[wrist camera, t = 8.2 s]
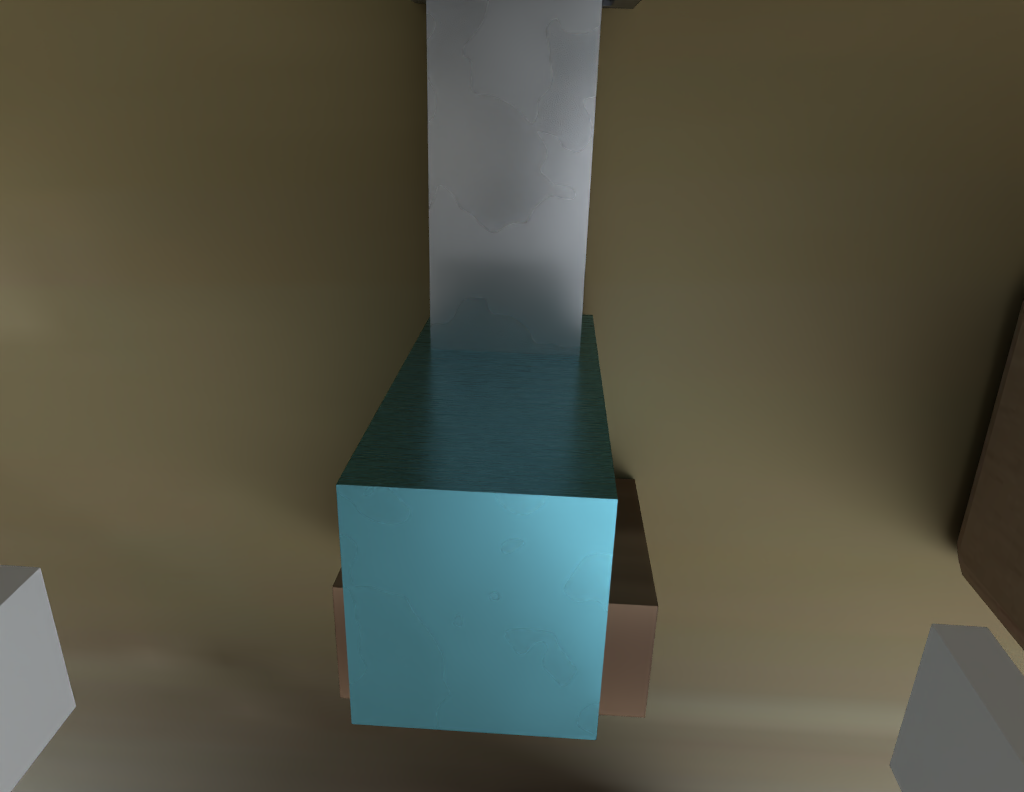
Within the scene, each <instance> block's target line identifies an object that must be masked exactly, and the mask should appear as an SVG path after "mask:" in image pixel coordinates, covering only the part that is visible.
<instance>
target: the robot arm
mask: <svg viewBox="0 0 1024 792" xmlns="http://www.w3.org/2000/svg"><path fill="white" fill-rule="evenodd" d="M75 707H76V704H75V700H74V696H73V693H72V689H71V685H70V681H69V677H68V673H67V669H66V665H65V662H64V658H63V654H62V650H61V646H60V642H59V638H58V634H57V631H56V627H55V623H54V619H53V615H52V611H51V607H50V603H49V600H48V596H47V592H46V588H45V584H44V580H43V576H42V572H41V569H40V567H25V566H9V565H0V792H11V791H12V790H13V788H14V787H15V786H16V784H17V783H18V782H19V780H20V779H21V778H22V777H23V775H24V774H25V773H26V771H27V770H28V769H29V767H30V766H31V765H32V763H33V762H34V761H35V760H36V758H37V757H38V756H39V754H40V753H41V752H42V750H43V749H44V748H45V746H46V745H47V744H48V742H49V741H50V740H51V739H52V737H53V736H54V735H55V733H56V732H57V731H58V729H59V728H60V727H61V725H62V724H63V723H64V722H65V720H66V719H67V718H68V716H69V715H70V714H71V712H72V711H73V710H74V708H75ZM890 767H891V769H892V771H893V774H894V776H895V778H896V780H897V782H898V785H899V787H900V789H901V791H902V792H1024V676H1023V675H1022V673H1021V672H1020V671H1019V669H1018V668H1017V667H1016V665H1015V664H1014V663H1013V661H1012V660H1011V659H1010V657H1009V656H1008V654H1007V653H1006V652H1005V650H1004V649H1003V648H1002V646H1001V645H1000V644H999V642H998V641H997V640H996V638H995V637H994V636H993V634H992V633H991V632H990V630H989V629H988V628H987V627H977V626H961V625H945V624H932V625H931V628H930V632H929V635H928V638H927V642H926V645H925V648H924V652H923V655H922V658H921V662H920V665H919V668H918V672H917V675H916V678H915V682H914V685H913V688H912V692H911V695H910V698H909V702H908V705H907V708H906V712H905V715H904V719H903V722H902V725H901V729H900V732H899V735H898V739H897V742H896V745H895V749H894V752H893V755H892V759H891V762H890Z"/></svg>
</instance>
